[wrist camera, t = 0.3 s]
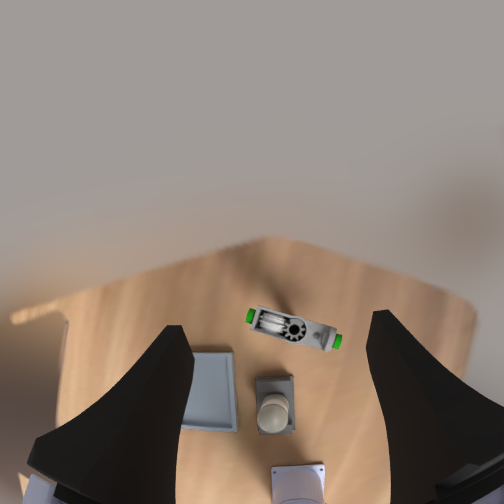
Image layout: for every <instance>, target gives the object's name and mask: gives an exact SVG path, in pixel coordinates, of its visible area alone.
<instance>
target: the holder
mask: <svg viewBox="0 0 504 504" xmlns="http://www.w3.org/2000/svg"><path fill="white" fill-rule="evenodd" d="M255 381H256V399H257V416H258V413H259V411H260V409H261V406H262V402H263V400H264V398H265V397H266V396H267V395H269V394H272V393H279V394H282V395H284V396H285V397H286V398H287V400H288V402H289V409H288V423H287V425H286V427H285V428H284V429H283V430H281V431H279V432H276V433H269V432H266V431H264V430H262V429H261V428H260V427H259V425H258V431H259V432H260V434H292V430H295V412H294V382H293V376H279V377H256V378H255Z"/></svg>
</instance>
